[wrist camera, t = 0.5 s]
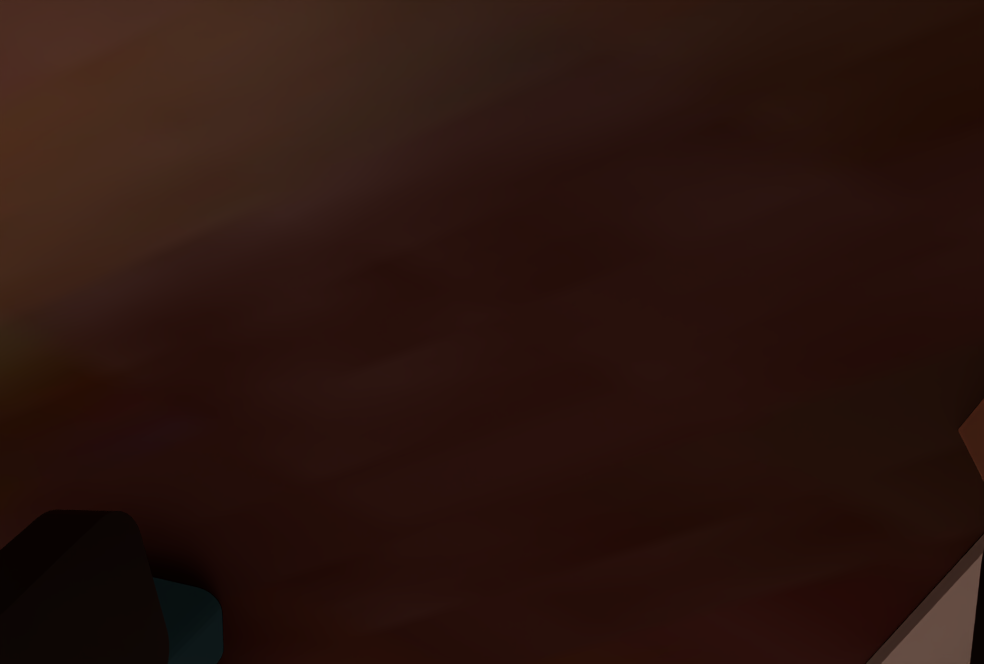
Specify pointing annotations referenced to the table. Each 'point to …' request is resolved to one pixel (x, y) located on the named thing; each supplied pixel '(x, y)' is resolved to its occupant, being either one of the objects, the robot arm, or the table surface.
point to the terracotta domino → (975, 436)
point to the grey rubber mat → (940, 620)
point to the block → (191, 623)
